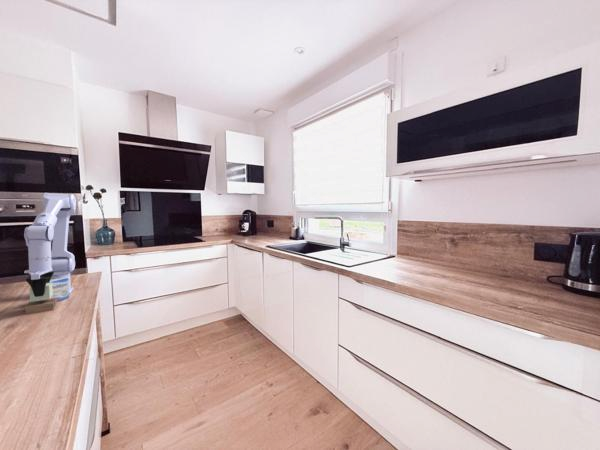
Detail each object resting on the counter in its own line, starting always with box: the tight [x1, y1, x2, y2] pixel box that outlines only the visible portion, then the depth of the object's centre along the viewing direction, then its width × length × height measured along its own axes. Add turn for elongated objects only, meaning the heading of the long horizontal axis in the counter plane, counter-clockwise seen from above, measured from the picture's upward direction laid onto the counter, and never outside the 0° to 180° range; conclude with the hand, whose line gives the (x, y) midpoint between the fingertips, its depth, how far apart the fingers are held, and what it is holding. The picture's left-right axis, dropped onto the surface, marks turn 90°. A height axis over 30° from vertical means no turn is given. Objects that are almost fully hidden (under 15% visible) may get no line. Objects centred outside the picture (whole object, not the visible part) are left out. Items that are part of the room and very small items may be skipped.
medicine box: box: [50, 277, 70, 303], centre depth 99 cm, size 8×4×9 cm, turn 168°
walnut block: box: [25, 297, 57, 315], centre depth 91 cm, size 7×7×3 cm
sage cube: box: [29, 282, 53, 302], centre depth 90 cm, size 5×5×5 cm
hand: (41, 293), depth 90 cm, fingers closed on sage cube, 5 cm apart
